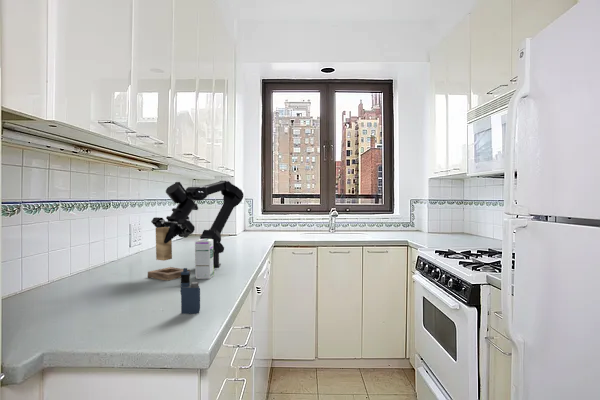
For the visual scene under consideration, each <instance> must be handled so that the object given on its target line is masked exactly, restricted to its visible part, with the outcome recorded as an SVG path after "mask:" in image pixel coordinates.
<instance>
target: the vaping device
mask: <svg viewBox="0 0 600 400" xmlns="http://www.w3.org/2000/svg"><path fill="white" fill-rule="evenodd" d="M182 269H183V271H182V272H181V278H180V290H179V291H180V296H181V297H180V299H181V300H180V303H181V304H180V310H181V311H180V314H183V315H197V314H199V313H200V312H201V288H200V285H199V282H198V281H192V282H191V279H190V278H191V270H190V271H187V270H188V268H187V267H184V268H182Z"/></svg>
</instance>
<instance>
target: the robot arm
mask: <svg viewBox="0 0 600 400" xmlns="http://www.w3.org/2000/svg"><path fill="white" fill-rule="evenodd" d="M218 192H220V194H221V195H222V196H223V198H222V199H223V204H222V205H221V207H220V210H219V211H218V213H217V216H216V217H215V219H214V221H213V223H212V225H211V227H210V228H209V229H203V231H202V233H201V235H200V236H199V239H213V255H214V268H220V266H221V265H222V263H220V254H222V253H224V250H225V246H224V245H223V244H222V242H221V241H222V235H221V233H222V232H223V229H224V227H225V225H226V223H227V222H228V219H229V218H230V216H231V214H232V211H234V208H235V207H237V206H238V205H239V204H241V202H242V200H243V199H244V192H243V190H242V189H241V188H240V187H238V186H236V185H234V184H233V183H232V182H230V180H219V181H216V182H213V183H209V184H206V185H202V186H188V187H186V188H184V186H183V185H182V183H181V181H176V182H174V183H173V184H171V185H169V186H167V188H166V190H165V193H166V195H167V196H168V197H169V198H170V200H172V202H173V203H174V204H177V206H176V207H174V208H171V211H172V213H171V214H170V215H167V216H166V217H165V219H166V220H165V219H164V218H163V217H153V218H152V220H151V224H152V225H154V227H155V229H156V228H160V227H170V228H169V230H168V233H167V235H166V237H165V240H164V243H168V242H169V241H170V240H171V239H172V240H173V239H175V238H176V237H177V236H178V237H179V238H189V236H190V235H192V234H193V233H194V232H195V224H193V223H192V222H191V220H190V217H189V215H190V214H191V213H192V211H199V207H198V203H197V201H198V202H200V201H203V200H205V199H206V198H207V197H208V196H209V195H212V194H215V193H218ZM195 202H196V203H195Z"/></svg>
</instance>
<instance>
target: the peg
mask: <svg viewBox="0 0 600 400" xmlns="http://www.w3.org/2000/svg"><path fill="white" fill-rule="evenodd" d="M169 228H170V227H160V228H156V227H155V254H156V255H155V260H156V261H168V260H172V259H173V245H172V244H173V243H172V241H173V239H171V240H170V241H169V242H168V243H164V240H165V237H166V235H167V233H168V230H169Z"/></svg>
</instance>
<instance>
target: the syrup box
mask: <svg viewBox="0 0 600 400" xmlns="http://www.w3.org/2000/svg"><path fill="white" fill-rule="evenodd" d="M194 263H195V264H194V265H195V266H194V267H195V269H194V270H195V271H194V272H195V273H194V274H195V279H196V280H198V279H199V280H211V278H213V277H214V275H215V270H214V269H215V267H214V255H213V239H200V238H199V239H198V240H195V241H194Z"/></svg>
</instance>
